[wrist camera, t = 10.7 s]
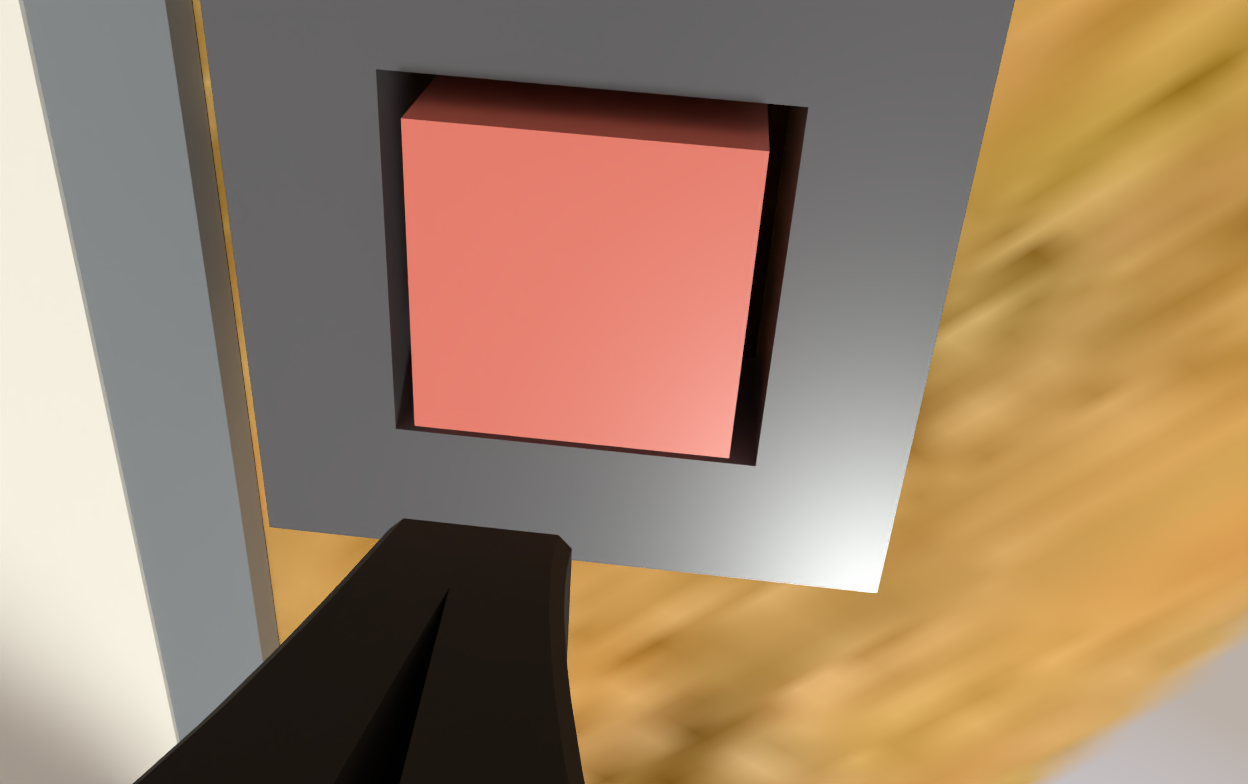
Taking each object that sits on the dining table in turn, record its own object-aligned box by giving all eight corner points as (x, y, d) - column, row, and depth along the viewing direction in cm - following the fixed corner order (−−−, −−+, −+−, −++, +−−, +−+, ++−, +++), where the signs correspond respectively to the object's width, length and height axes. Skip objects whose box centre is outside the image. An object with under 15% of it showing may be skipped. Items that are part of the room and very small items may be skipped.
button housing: (859, 473, 19) (877, 593, 16) (332, 418, 19) (270, 526, 17) (980, -107, 14) (1029, -66, 12) (280, -162, 15) (182, -134, 12)
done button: (731, 381, 17) (729, 458, 15) (448, 352, 17) (414, 425, 15) (767, 97, 14) (769, 151, 13) (441, 70, 15) (401, 118, 13)
